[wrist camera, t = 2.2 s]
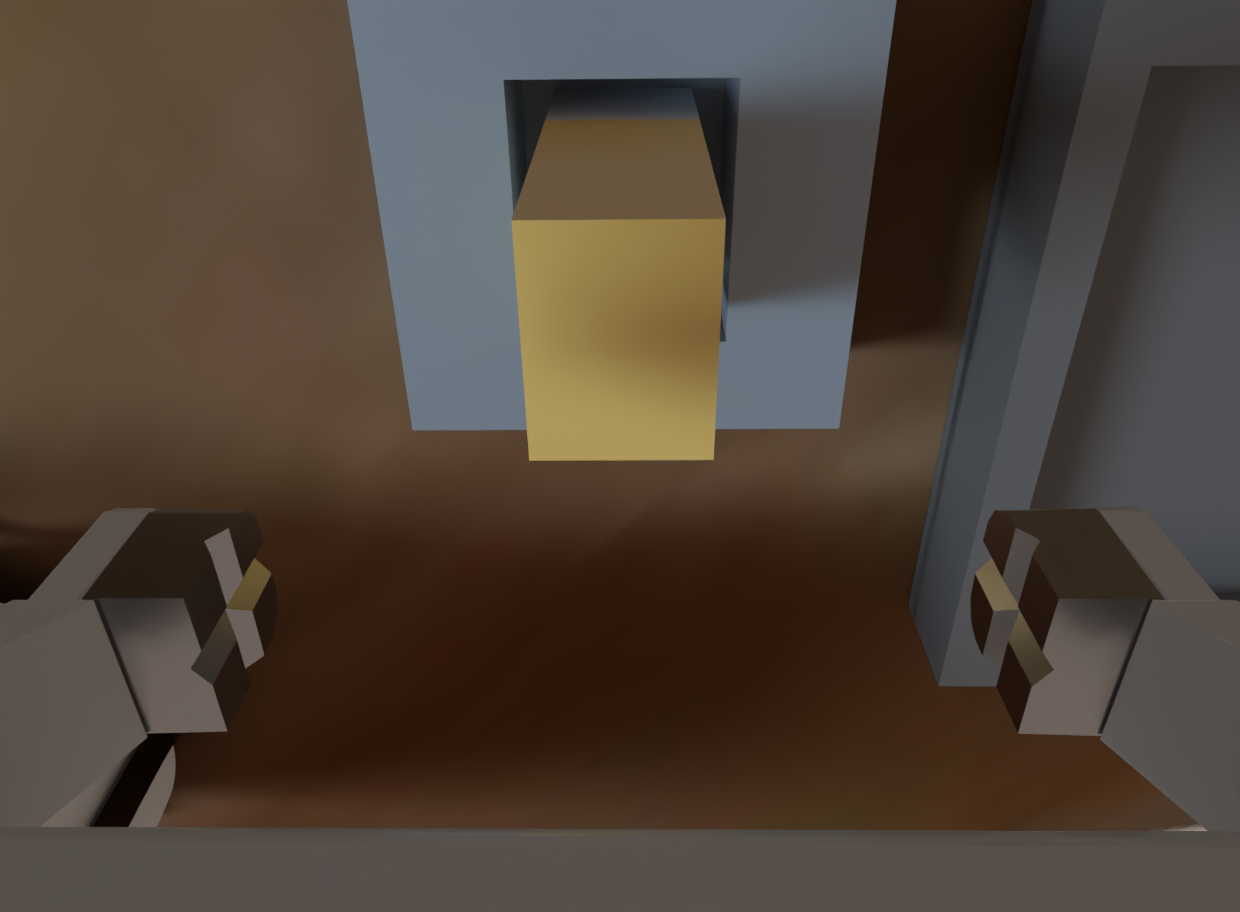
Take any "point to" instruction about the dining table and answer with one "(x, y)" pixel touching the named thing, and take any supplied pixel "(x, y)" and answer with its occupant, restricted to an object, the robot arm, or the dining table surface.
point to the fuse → (620, 279)
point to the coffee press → (126, 789)
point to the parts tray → (1100, 304)
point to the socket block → (738, 149)
